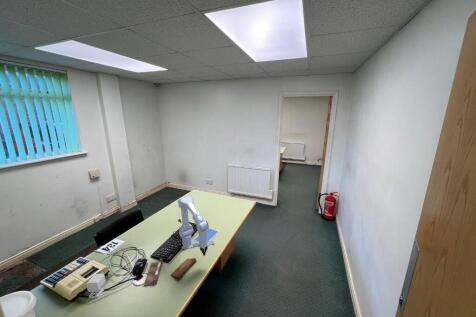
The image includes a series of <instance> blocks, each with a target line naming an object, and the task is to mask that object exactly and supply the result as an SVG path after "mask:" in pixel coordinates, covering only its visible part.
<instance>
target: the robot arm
mask: <svg viewBox="0 0 476 317" xmlns="http://www.w3.org/2000/svg"><path fill="white" fill-rule="evenodd" d="M194 203H195V202H194V198H193V196H191V195H189V196H185V197H183V198H179V199H178V200H177V204H178V208H179V209H180V213H181V221H182V225H180V227H179V231H178V232H179V237H180V238H181V239H182V240H181V241H182V242H181V243H182V245H183V246H181V249H182V250H184V249H195V248H199V250H200V252H201V253H202V257H205V256H206V255H207V254H206V253H207V251H208V249H209V248H208V247H210V246H215V240H214V241H211V240H210V241H208V236H207V228H209V222H208V220H206V219H205V218H203V216H202V214H201V213H200V212H198V211H197V209H196V207H195V205H194ZM189 212H190V213H191V215H192V220H193V222H194V223H195V225H196V229H197V234H198V236H199V242H195V243H193V242H194V239H193V238H192V235H193V234H194V228H193V225H192V224H191V223H190V221H189V220H190V219H189Z"/></svg>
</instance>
